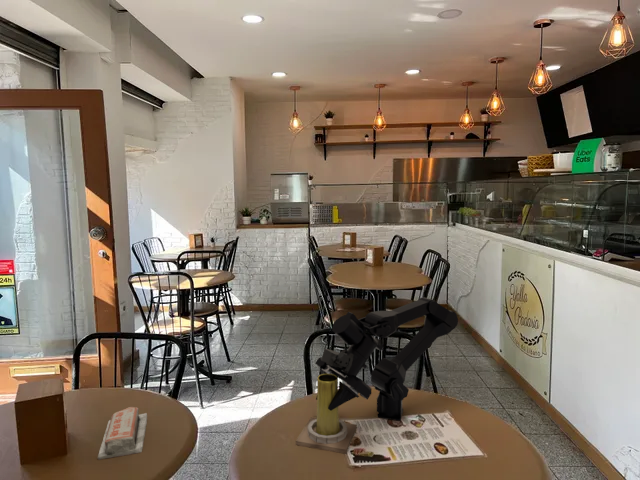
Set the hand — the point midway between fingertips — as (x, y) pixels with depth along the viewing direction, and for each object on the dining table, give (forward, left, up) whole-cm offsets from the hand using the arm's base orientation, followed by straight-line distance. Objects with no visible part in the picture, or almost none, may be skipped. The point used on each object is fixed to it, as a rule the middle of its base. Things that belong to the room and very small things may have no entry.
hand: (323, 404), depth 112 cm
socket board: (-1, -1, -9) cm, 9 cm away
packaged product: (+49, +14, -9) cm, 52 cm away
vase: (-1, -1, -7) cm, 8 cm away
